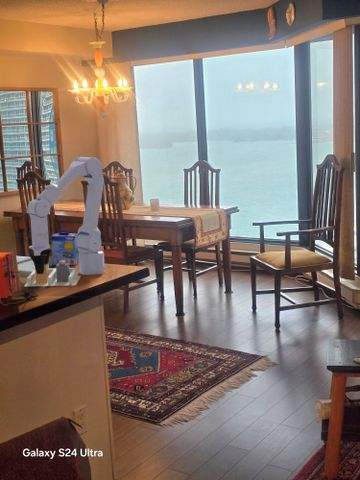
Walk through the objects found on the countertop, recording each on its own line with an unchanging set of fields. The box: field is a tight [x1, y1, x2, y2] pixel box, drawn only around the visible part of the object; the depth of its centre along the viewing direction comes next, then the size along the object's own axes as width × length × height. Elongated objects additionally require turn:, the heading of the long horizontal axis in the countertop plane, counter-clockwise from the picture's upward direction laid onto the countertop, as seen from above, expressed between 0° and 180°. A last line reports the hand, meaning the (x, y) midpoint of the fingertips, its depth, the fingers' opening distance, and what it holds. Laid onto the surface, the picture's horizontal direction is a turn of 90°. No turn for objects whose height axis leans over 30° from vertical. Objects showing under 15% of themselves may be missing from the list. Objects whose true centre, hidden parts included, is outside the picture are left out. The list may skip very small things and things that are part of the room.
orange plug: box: [34, 263, 50, 283], centre depth 227 cm, size 4×4×7 cm
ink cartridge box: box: [50, 229, 79, 266], centre depth 259 cm, size 10×6×14 cm, turn 87°
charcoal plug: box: [55, 260, 70, 282], centre depth 228 cm, size 4×4×7 cm
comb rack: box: [23, 267, 82, 287], centre depth 228 cm, size 18×14×4 cm
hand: (42, 271), depth 227 cm, fingers open, 7 cm apart
